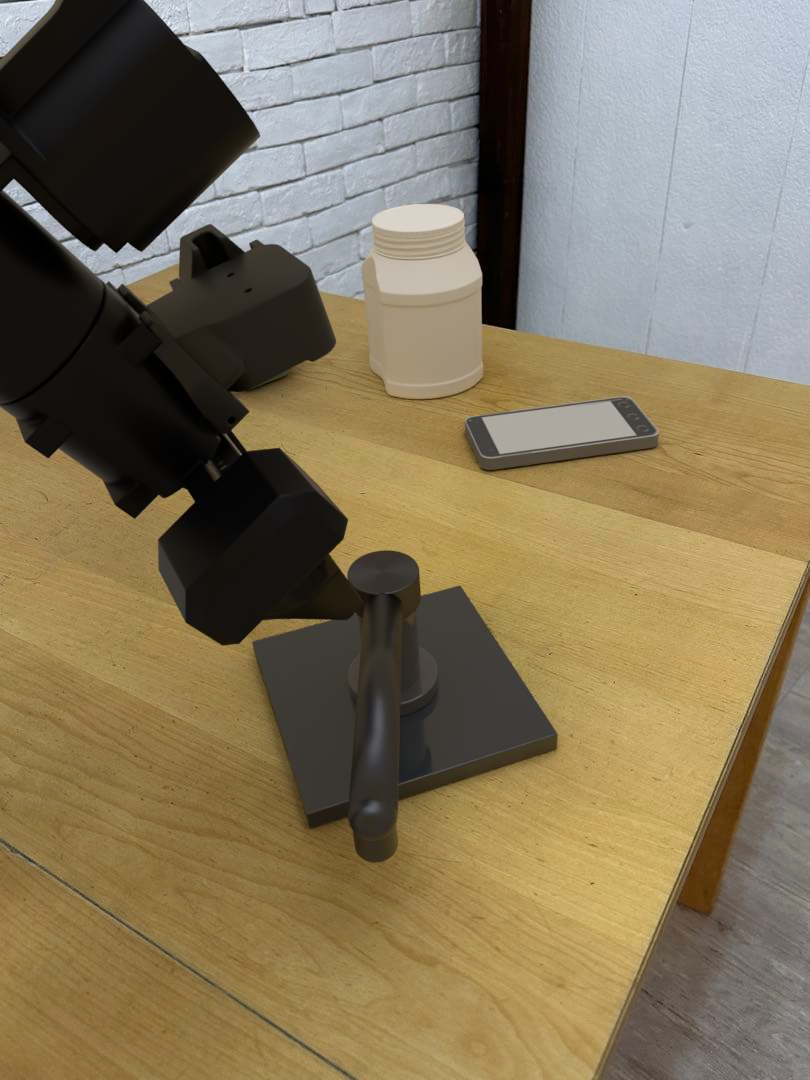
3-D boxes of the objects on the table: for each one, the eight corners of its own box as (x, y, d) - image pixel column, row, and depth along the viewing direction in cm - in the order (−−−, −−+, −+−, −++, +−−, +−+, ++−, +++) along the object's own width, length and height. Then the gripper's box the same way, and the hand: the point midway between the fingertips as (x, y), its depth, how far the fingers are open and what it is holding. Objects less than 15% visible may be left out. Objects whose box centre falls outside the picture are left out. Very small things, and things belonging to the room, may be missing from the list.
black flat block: (309, 829, 46) (290, 732, 42) (254, 655, 57) (235, 564, 53) (557, 749, 49) (562, 651, 45) (460, 598, 60) (458, 509, 56)
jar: (363, 359, 92) (349, 208, 83) (451, 342, 94) (447, 193, 85) (396, 407, 83) (384, 243, 74) (493, 387, 85) (492, 226, 76)
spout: (354, 592, 51) (349, 551, 49) (421, 589, 51) (419, 548, 49) (328, 866, 37) (320, 821, 35) (422, 864, 36) (418, 819, 35)
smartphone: (662, 434, 74) (482, 459, 72) (661, 446, 74) (482, 471, 73) (629, 395, 80) (462, 417, 78) (628, 406, 80) (463, 428, 79)
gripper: (312, 246, 25) (551, 532, 35) (138, 128, 38) (349, 361, 49) (30, 533, 25) (351, 731, 36) (-44, 316, 39) (205, 506, 49)
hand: (312, 555), depth 43 cm, fingers open, 9 cm apart
